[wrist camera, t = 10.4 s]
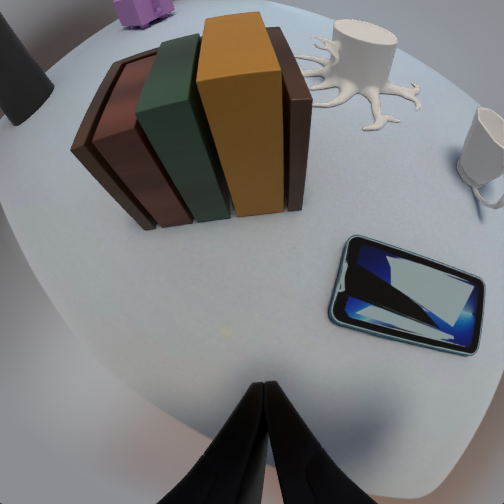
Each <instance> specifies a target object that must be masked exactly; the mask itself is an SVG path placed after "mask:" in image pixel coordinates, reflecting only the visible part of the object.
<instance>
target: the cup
mask: <svg viewBox="0 0 504 504" xmlns="http://www.w3.org/2000/svg"><path fill="white" fill-rule="evenodd" d="M456 169H457V171H458V173H459V175H460V176H461V178H462V180H463V182H465V183H466V184H468V185H469V186H470V187H472V191H473V193H474V195H475V196H476V198H477V199H478V200H479V201H480V202H482V203H483V204H484V205H485V206H487V207H490V208H493V209H499V208H501V207H502V206H503V205H504V194H503V196H502V197H501V199H500V200H499V201H498V202H497V203H496V204H493V205H491V204H489V203H488V202H487V201H486V200H485V199H484V198H482V196H481V195H480V193H479V192H478V188H482V187H483V184H484V183H488V182H490V181H492V180H494V179H496V178H497V177H499V176H501V175H502V174H503V173H504V119H503V118H501V117H500V116H499V115H498V114H497V113H495V112H494V111H493V110H491V109H487V108H481V107H477V110H476V113H475V116H474V119H473V121H472V124H471V127H470V129H469V132H468V134H467V137H466V139H465V143H464V146H463V150H462V153H461V158H460V159H458V161H457V168H456Z"/></svg>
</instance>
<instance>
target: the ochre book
mask: <svg viewBox="0 0 504 504" xmlns="http://www.w3.org/2000/svg"><path fill="white" fill-rule="evenodd" d="M196 83H197V87H198V90H199V93H200V97H201V100H202V103H203V106H204V110H205V113H206V116H207V119H208V123H209V126H210V129H211V132H212V136H213V139H214V142H215V145H216V149H217V152H218V155H219V158H220V162H221V165H222V168H223V171H224V175H225V178H226V181H227V184H228V187H229V191H230V194H231V197H232V200H233V204H234V207H235V210H236V213H237V216H238V217H242V216H251V215H259V214H268V213H276V212H283V211H284V154H283V104H282V75H281V68H280V65H279V62H278V59H277V57H276V54H275V51H274V48H273V46H272V43H271V40H270V38H269V35H268V33H267V30H266V27H265V25H264V22H263V20H262V18H261V15H260V13H259V12H248V13H239V14H232V15H225V16H219V17H213V18H207V19H206V20H205V25H204V31H203V37H202V43H201V49H200V56H199V63H198V71H197V78H196Z"/></svg>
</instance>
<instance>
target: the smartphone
mask: <svg viewBox="0 0 504 504" xmlns="http://www.w3.org/2000/svg"><path fill="white" fill-rule="evenodd" d="M484 304H485V284H484V282H483V280H482V279H481V278H480V277H478V276H475V275H473V274H470V273H467V272H465V271H462V270H460V269H457V268H454V267H452V266H449V265H446V264H444V263H441V262H438V261H435V260H433V259H430V258H427V257H424V256H421V255H419V254H416V253H413V252H410V251H407V250H404V249H401V248H398V247H395V246H392V245H389V244H386V243H383V242H380V241H377V240H374V239H371V238H368V237H365V236H362V235H353V236H351V237H350V238H349V239H348V240H347V242H346V244H345V247H344V251H343V256H342V260H341V264H340V268H339V272H338V276H337V280H336V284H335V288H334V292H333V295H332V299H331V303H330V306H329V316H330V318H331V320H332V321H333V322H334V323H335V324H337V325H340V326H344V327H348V328H351V329H355V330H359V331H362V332H366V333H370V334H372V335H376V336H380V337H385V338H388V339H392V340H397V341H401V342H405V343H409V344H413V345H418V346H422V347H426V348H431V349H435V350H439V351H444V352H449V353H453V354H458V355H463V356H472V355H474V354H475V353H476V352H477V350H478V348H479V344H480V337H481V331H482V323H483V315H484Z"/></svg>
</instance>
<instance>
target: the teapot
mask: <svg viewBox="0 0 504 504" xmlns="http://www.w3.org/2000/svg"><path fill="white" fill-rule="evenodd" d="M113 5H114V8H115V10H116V13H117V15H118V17H119V20H120V22H121V24H122V26H131V27H130V29H132V28H135V27H137V26H140V27H141V29H143V28H146V27H148V26H149V25H150V24H149V22H150V21H152V20H154V19H156V18H159V19H163V18H166V17H168V16H169V15H167V13H169V12H171V11H173V10H175V9H174V5H173V2H172V0H115V1H113Z"/></svg>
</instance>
